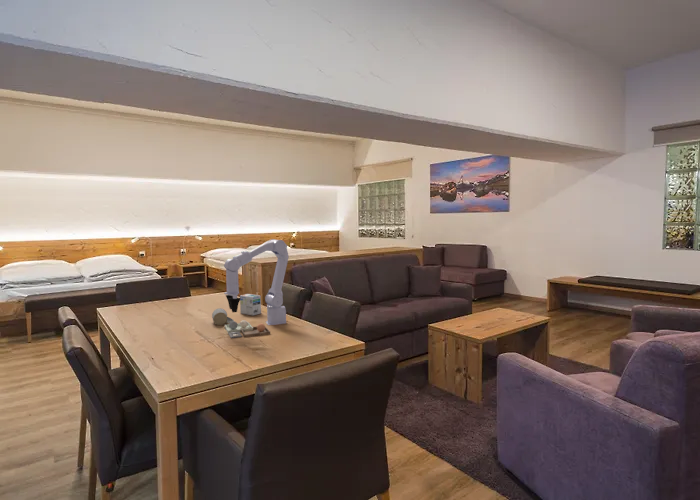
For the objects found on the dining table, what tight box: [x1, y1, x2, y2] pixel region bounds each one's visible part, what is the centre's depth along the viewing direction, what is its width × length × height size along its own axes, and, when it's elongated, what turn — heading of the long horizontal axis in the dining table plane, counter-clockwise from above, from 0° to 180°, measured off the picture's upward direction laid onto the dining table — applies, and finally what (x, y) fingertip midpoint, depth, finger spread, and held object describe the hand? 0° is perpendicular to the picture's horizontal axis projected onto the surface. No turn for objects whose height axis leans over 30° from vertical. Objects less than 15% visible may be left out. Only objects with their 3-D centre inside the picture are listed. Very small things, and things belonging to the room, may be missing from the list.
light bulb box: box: [239, 293, 262, 316], centre depth 239 cm, size 11×7×11 cm, turn 58°
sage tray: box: [224, 321, 254, 334], centre depth 205 cm, size 12×12×2 cm
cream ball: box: [239, 319, 248, 328], centre depth 206 cm, size 4×4×4 cm
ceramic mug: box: [211, 308, 235, 326], centre depth 216 cm, size 11×8×8 cm
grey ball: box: [228, 320, 238, 329], centre depth 204 cm, size 4×4×4 cm
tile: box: [227, 332, 243, 339], centre depth 194 cm, size 5×8×1 cm, turn 24°
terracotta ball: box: [257, 323, 266, 332], centre depth 199 cm, size 4×4×4 cm
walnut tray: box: [240, 325, 271, 338], centre depth 198 cm, size 12×12×2 cm
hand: (233, 310), depth 203 cm, fingers open, 7 cm apart
